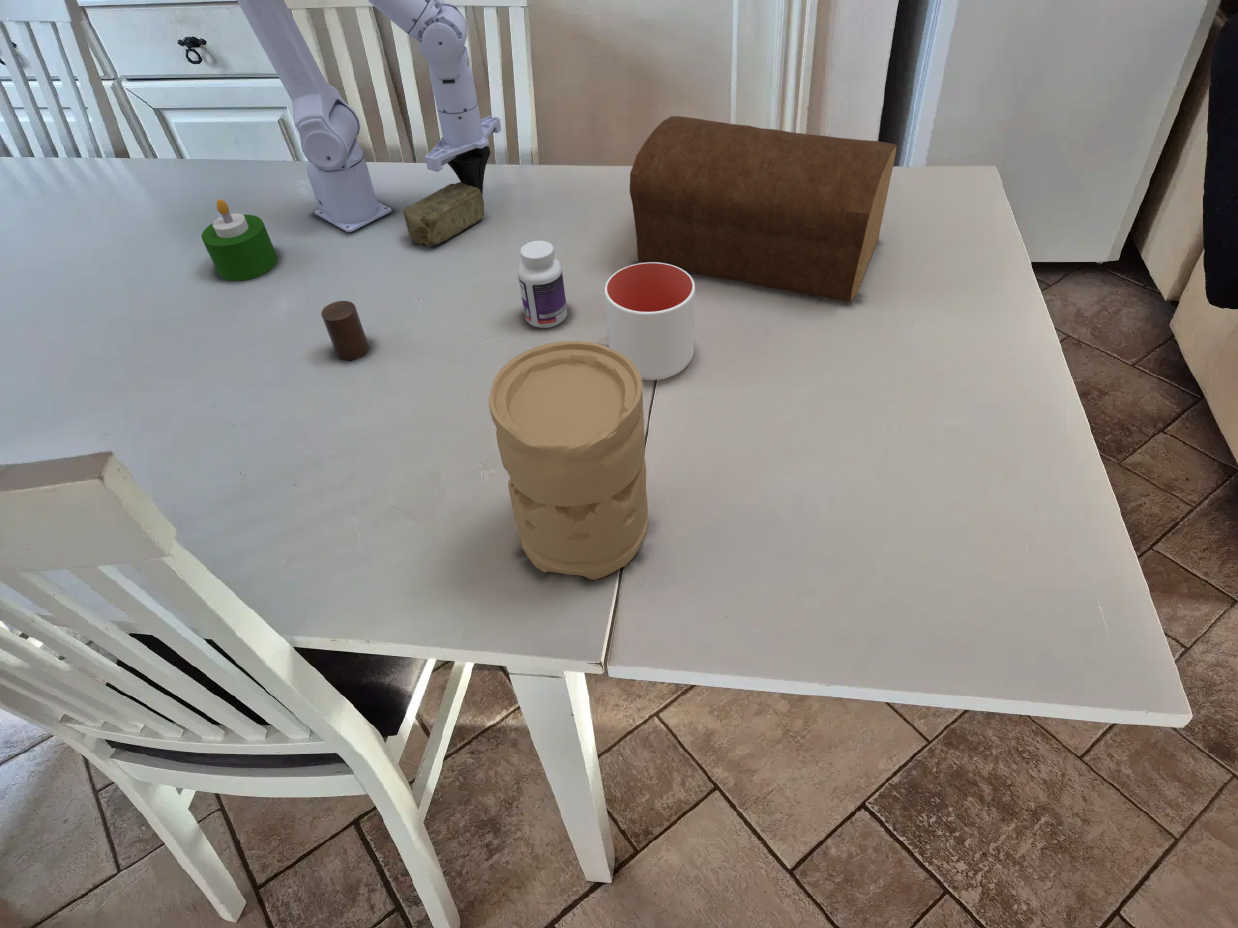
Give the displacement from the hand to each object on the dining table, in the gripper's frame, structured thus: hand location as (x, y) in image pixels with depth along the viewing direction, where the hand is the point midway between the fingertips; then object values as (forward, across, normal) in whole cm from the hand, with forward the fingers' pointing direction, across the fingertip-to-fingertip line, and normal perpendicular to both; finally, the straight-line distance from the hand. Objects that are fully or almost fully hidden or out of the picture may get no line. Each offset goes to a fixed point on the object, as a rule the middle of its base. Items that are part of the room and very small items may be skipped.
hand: (475, 196), depth 122 cm
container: (+2, -44, -49) cm, 66 cm away
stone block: (+2, -7, 0) cm, 7 cm away
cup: (+2, -19, -42) cm, 46 cm away
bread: (+2, +8, -43) cm, 44 cm away
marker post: (+2, -35, -8) cm, 36 cm away
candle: (+2, -28, +20) cm, 34 cm away
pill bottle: (+2, -18, -26) cm, 31 cm away
